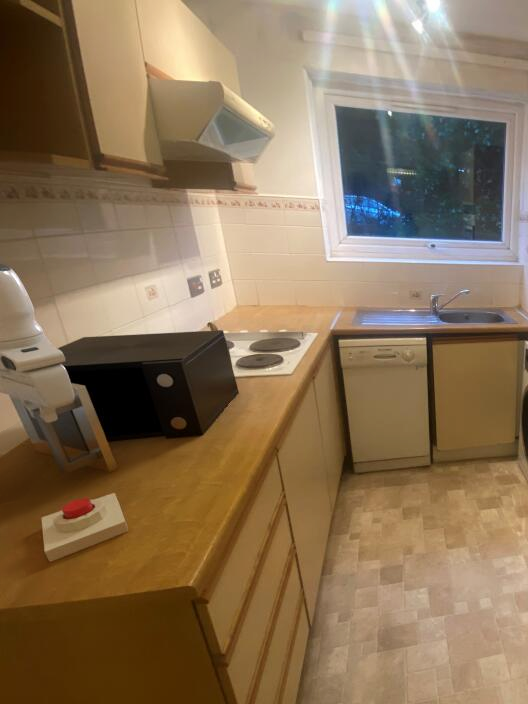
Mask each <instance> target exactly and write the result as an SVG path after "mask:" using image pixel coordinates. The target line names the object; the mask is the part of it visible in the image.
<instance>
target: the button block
mask: <svg viewBox="0 0 528 704" xmlns="http://www.w3.org/2000/svg"><path fill="white" fill-rule="evenodd" d="M89 500H90V501H91V503H92V506H93V510H92V511H91V512H89V513H87V514H86V515H83V516H81V517H78V518H74V519H66V518H65V516H64V513H63V511H62V509H61V510H59V511H56V512H54V513H51V514H48V515H45V516H42V517H41V518H40V519H41V528H42V538H43V549H44V554H45V556H46V558H47V559H48V561H49V563H51V562H54V561H56V560H59V559H61V558H63V557H67V556H69V555H71V554H74V553H76V552H79V551H82V550H84V549H87V548H89V547H92V546H95V545H97V544H99V543H102V542H104V541H107V540H109V539H113V538H115V537H117V536H120V535H122V534H125V533H127V532H129V528H128V524H127V522H126V518H125V516H124V513H123V510H122V508H121V505H120V502H119V500H118V497H117V495H116V493H115V492H112V493H109V494H107V495H104V496H101V497H98V498H95V499H89Z"/></svg>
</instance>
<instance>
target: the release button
mask: <svg viewBox="0 0 528 704" xmlns="http://www.w3.org/2000/svg"><path fill="white" fill-rule="evenodd" d="M90 500H91V499H90V498H79V499H75V500H72V501H70V502H68V503H66V504H65V505H64V506H62V508H61V510H62V511H63V513H64V516H65V518H66V519H74V518H78V517H81V516H83V515H86V514H87V513H89V512H91V511H92V510H93V506H92V503H91V501H90Z"/></svg>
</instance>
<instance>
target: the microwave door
mask: <svg viewBox="0 0 528 704" xmlns="http://www.w3.org/2000/svg"><path fill="white" fill-rule="evenodd" d="M71 385H72V388H73V391H74V395H75V398H74V402H73V403H71V404H68V405H65V406H62V407H58V408H56V410H55V412H56V415H57V417H58V419H57V420H56V421H53V422H50V423H47V422H44V421H42V419H41V417H40V415H39V414H40V409H36V410H34V411H33V412H34V414H35V416H36V418H37V419H36V418H33V417H32V416H31V414H30V412H29V410H28V409H27V408H26V407H25V406H24V404H23V403H22V402H21V400H20V398H17V397H14V396H10V395H8V396H9V399H10V400H11V403H12V404H13V407H14V409H15V411H16V413H17V415H18V417H19V419H20V422H21V424H22V426H23V427H24V430H25V432H26V434H27V437H28V438H29V440H30V443H31V445H32V447H33V449H34V452H35V453H39V454H42V455H46V456H48V457H49V456H50V457H53V458H54V459H55V462H56V464H57V466H58V468H59V470H60V473H61V474H69V473H71V472H73V471H77V470H78V469H80V468H83V467H85V466H86V467H90V468H93V469H97V470H100V471H104V472H106V473H107V472H108V473H112V472H114V471H116V470H118V469H119V467H118V464H117V462H116V460H115V457H114V455H113V452H112V450H111V446H110V445H109V442H107V439H106V437H105V434H104V432H103V429H102V427H101V424H100V422H99V419H98V417H97V414H96V412H95V409H94V407H93V404H92V402H91V399H90V397H89V394H88V392H87V389H86V387H85V386H84V385H79V384H73V383H71Z"/></svg>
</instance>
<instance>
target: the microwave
mask: <svg viewBox="0 0 528 704" xmlns="http://www.w3.org/2000/svg"><path fill="white" fill-rule="evenodd" d="M225 338H226V336H225V333H224V329H218V330H217V331H211V330H200V331H199V330H197V331H180V332H178V331H177V332H162V333H161V332H159V333H140V334H139V333H137V334H121V335H120V334H119V335H101V336H99V335H98V336H83V337H81V338H79V339H76V340H74V341H72V342H69V343H66V344H64V345H62V346H60V347H56V348H57V349H59V350H60V351H61V352H62V353H63V355H64V357H65V362H62V363H61V364H62V365H63V366H64V367H65V369H66V371H67V373H68V376H69V379H70V382H71V383H73V384H79V385H84V386H85V387H86V389H87V392H88V394H89V397H90V399H91V402H92V404H93V407H94V409H95V412H96V414H97V417H98V419H99V422H100V424H101V427H102V429H103V432H104V434H105V437H106V439H107V442H108V443H112V442H121V441H122V442H123V441H132V440H142V439H153V438H154V439H155V438H163V437H165V438H166V439H167V440H169V439H176V438H187V437H188V438H189V437H197V436H204V434H206V433H207V431H209V429H210V428H211V427H212V425H213V424H214V423H215V422H216V421H217V420H218V419H219V417H220V416H221V415H222V414H223V413H224V411H225V410H226V409H227V408H228V406H229V405H230V404H231V403H232V402H233V401H234V400H235V398H236V397H237V396H238V395H239V394H240V392H239V388H238V384H237V380H236V376H235V372H234V369H233V363H232V364H231V362H232V359H231V360H230V356H231V355H230V356H229V352H230V351H229V352H228V348H227V344H226V340H227V339H226V340H225ZM238 393H239V394H238ZM237 394H238V395H237ZM236 395H237V396H236ZM235 396H236V397H235ZM234 397H235V398H234ZM233 399H234V400H233ZM231 401H232V402H231ZM230 402H231V403H230ZM229 403H230V404H229ZM228 404H229V405H228ZM226 407H227V408H226ZM225 408H226V409H225ZM224 409H225V410H224ZM221 413H222V414H221ZM220 414H221V415H220ZM216 419H217V420H216Z"/></svg>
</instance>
